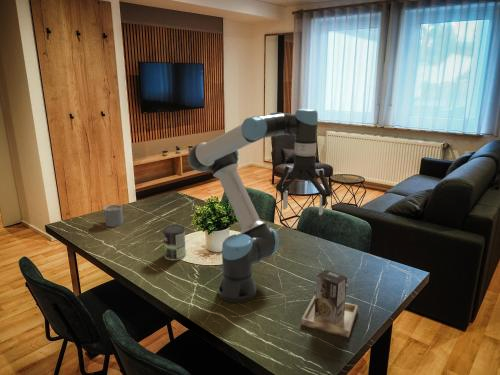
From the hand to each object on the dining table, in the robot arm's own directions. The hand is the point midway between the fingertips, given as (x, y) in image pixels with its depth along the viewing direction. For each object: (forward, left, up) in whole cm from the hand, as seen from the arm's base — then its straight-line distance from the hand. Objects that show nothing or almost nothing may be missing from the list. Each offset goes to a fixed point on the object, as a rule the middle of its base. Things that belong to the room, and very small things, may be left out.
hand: (302, 211), depth 143 cm
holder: (+14, -7, -37) cm, 40 cm away
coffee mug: (-124, +31, -37) cm, 133 cm away
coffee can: (-66, +11, -37) cm, 76 cm away
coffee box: (+14, -7, -36) cm, 39 cm away
